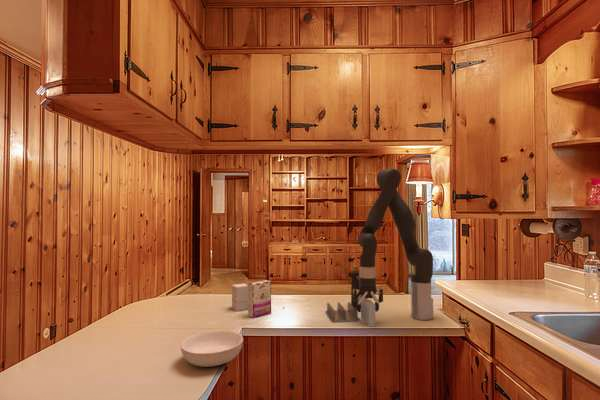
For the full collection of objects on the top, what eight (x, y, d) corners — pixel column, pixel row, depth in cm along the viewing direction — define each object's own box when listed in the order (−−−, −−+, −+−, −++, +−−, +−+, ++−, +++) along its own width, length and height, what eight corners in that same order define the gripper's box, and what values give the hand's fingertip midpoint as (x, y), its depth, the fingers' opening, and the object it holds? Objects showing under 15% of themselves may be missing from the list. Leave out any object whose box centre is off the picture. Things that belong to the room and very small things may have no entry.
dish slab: (367, 318, 165) (366, 297, 165) (375, 326, 153) (375, 304, 153) (361, 318, 165) (360, 297, 165) (368, 327, 153) (368, 304, 153)
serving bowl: (189, 349, 128) (189, 330, 129) (245, 347, 130) (245, 329, 130) (172, 376, 108) (172, 353, 108) (239, 373, 109) (239, 351, 109)
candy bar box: (265, 311, 177) (265, 279, 177) (271, 313, 173) (271, 281, 173) (247, 316, 169) (247, 282, 170) (253, 318, 165) (253, 284, 166)
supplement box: (244, 306, 187) (244, 282, 187) (249, 309, 180) (249, 285, 181) (231, 308, 183) (231, 284, 183) (236, 311, 177) (236, 287, 177)
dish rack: (350, 311, 176) (350, 301, 176) (359, 321, 160) (359, 310, 161) (325, 312, 175) (325, 302, 175) (332, 322, 159) (332, 311, 159)
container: (363, 310, 178) (363, 271, 179) (347, 308, 183) (347, 270, 183) (369, 306, 185) (369, 269, 186) (354, 304, 190) (353, 268, 191)
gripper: (379, 274, 164) (379, 308, 164) (350, 275, 162) (350, 309, 162) (385, 277, 157) (385, 313, 156) (354, 278, 155) (355, 314, 154)
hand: (367, 311), depth 159 cm, fingers open, 7 cm apart
